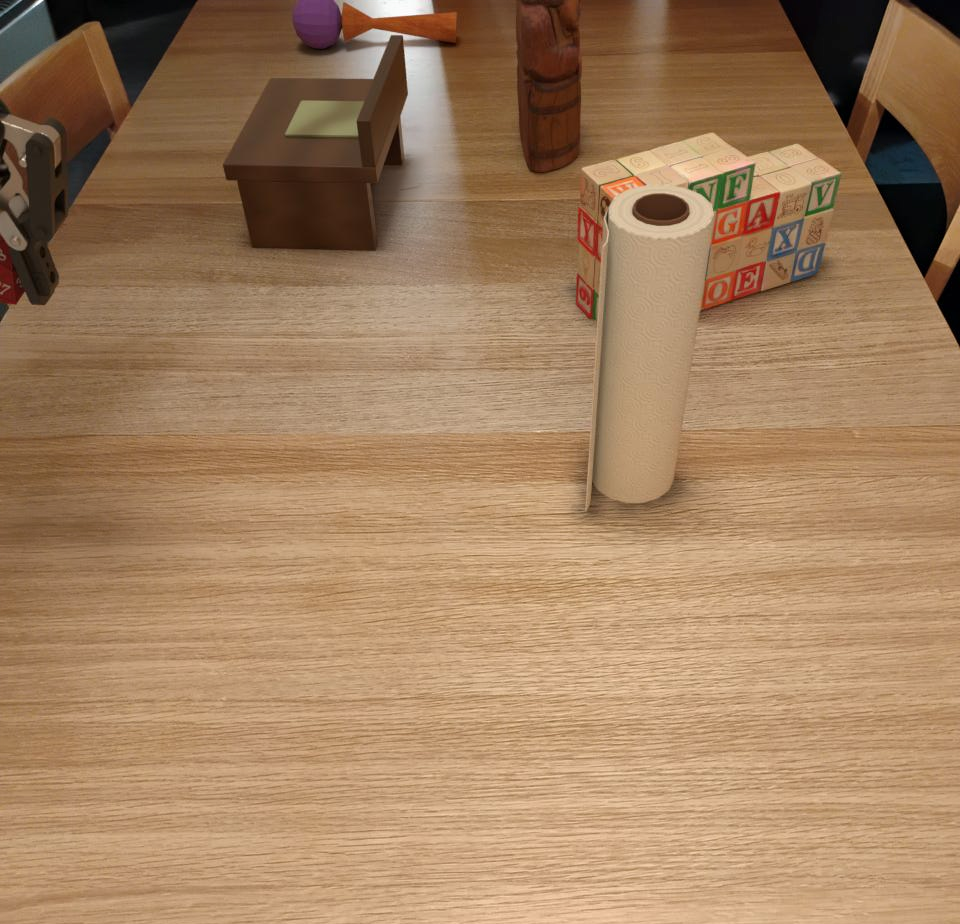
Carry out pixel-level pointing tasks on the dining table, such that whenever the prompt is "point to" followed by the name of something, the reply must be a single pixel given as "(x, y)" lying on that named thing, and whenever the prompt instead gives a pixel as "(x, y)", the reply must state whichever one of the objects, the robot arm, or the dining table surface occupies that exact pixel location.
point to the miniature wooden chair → (320, 156)
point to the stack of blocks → (722, 212)
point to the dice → (8, 277)
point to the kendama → (364, 23)
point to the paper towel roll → (645, 337)
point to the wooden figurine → (549, 81)
